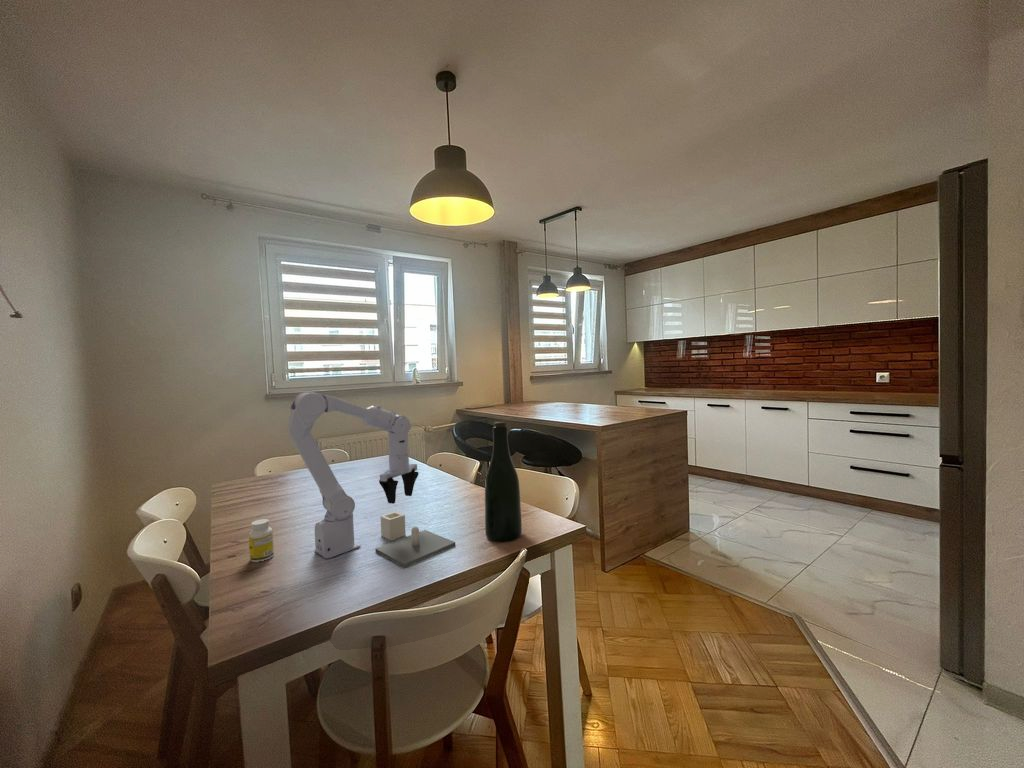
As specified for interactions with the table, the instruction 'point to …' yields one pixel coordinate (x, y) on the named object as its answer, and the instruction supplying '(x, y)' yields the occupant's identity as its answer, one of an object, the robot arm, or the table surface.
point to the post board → (414, 547)
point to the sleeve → (393, 525)
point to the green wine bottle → (502, 491)
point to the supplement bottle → (261, 541)
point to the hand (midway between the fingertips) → (400, 499)
